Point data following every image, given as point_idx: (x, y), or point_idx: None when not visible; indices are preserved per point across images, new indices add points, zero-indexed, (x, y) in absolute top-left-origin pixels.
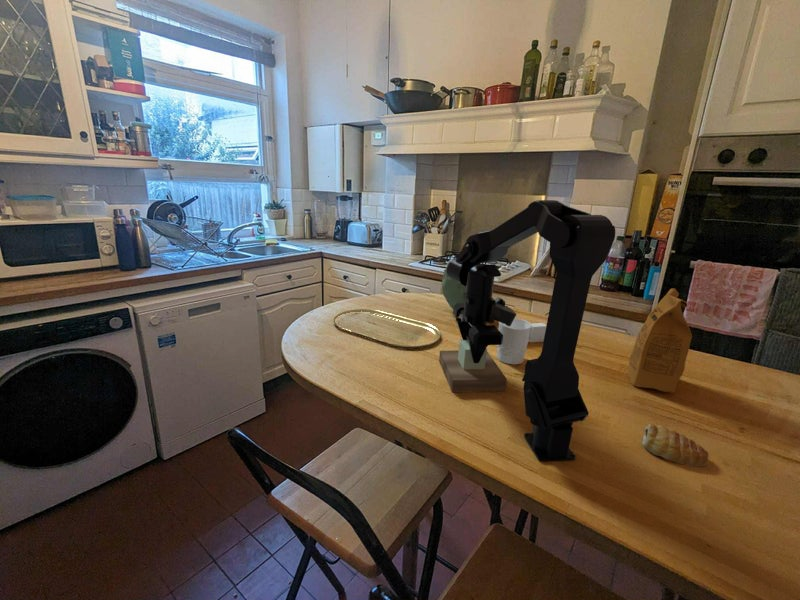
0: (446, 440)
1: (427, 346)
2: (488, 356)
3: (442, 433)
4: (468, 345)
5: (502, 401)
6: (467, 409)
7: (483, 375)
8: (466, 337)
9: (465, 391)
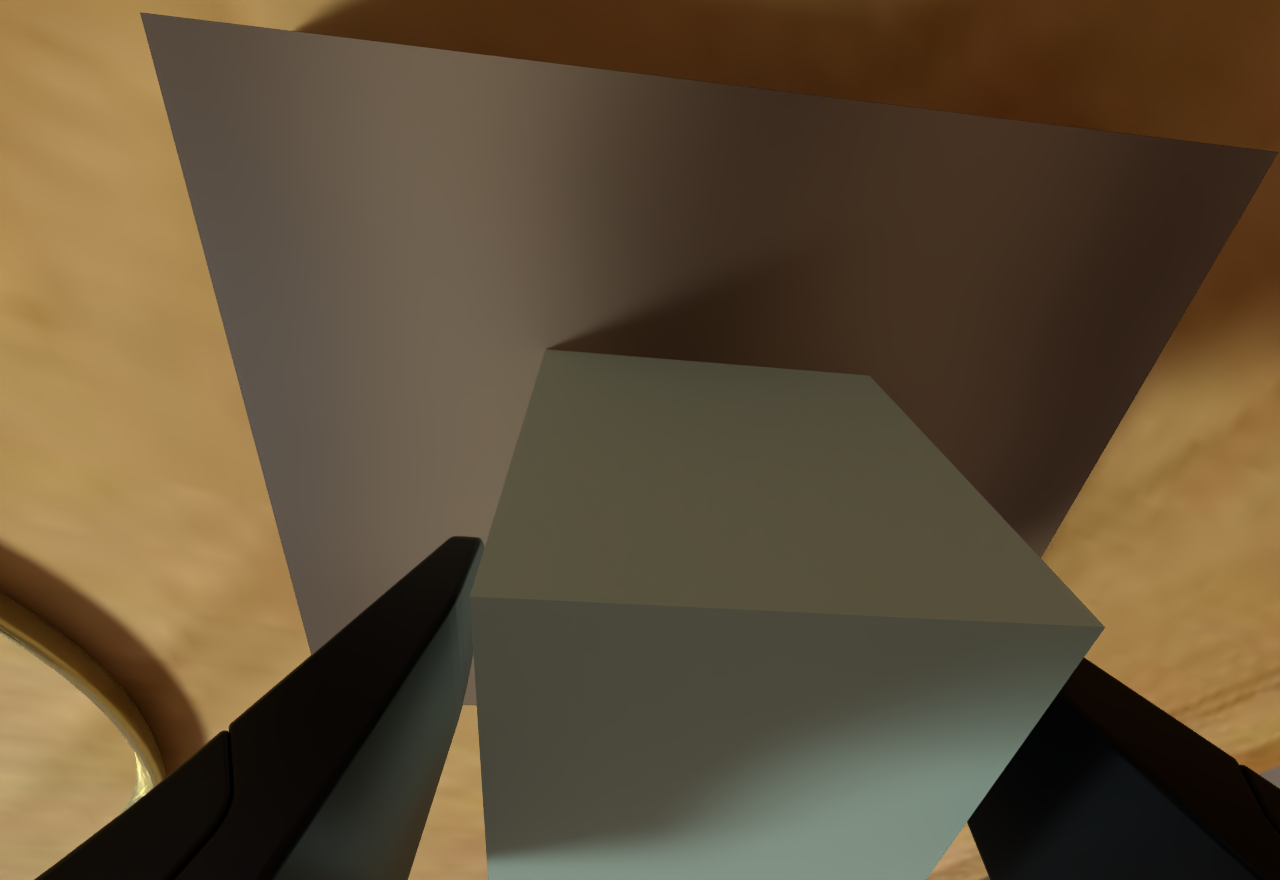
0: (1276, 737)
1: (45, 623)
2: (453, 109)
3: (1219, 741)
4: (760, 858)
5: (1234, 276)
6: (1131, 587)
7: (1003, 450)
8: (392, 856)
9: None
